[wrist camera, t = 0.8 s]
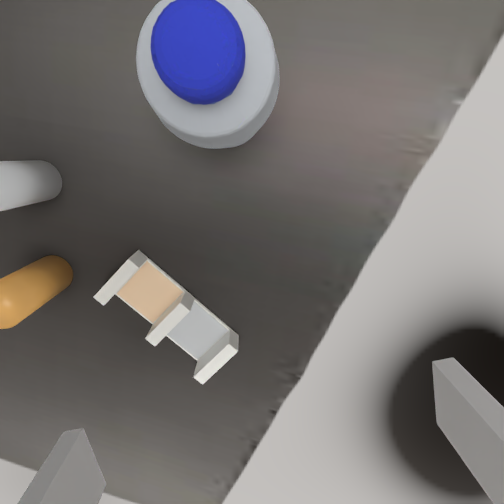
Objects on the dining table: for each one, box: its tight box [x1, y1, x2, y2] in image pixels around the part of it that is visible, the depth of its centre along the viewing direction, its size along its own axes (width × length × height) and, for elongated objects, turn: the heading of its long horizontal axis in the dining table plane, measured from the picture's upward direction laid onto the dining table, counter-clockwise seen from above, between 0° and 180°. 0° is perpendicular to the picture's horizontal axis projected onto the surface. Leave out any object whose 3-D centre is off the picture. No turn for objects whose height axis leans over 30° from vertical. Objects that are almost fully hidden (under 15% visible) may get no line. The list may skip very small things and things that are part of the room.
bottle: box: [136, 0, 280, 149], centre depth 21 cm, size 7×7×20 cm
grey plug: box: [0, 160, 62, 211], centre depth 28 cm, size 4×4×8 cm
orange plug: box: [0, 255, 73, 329], centre depth 31 cm, size 4×4×8 cm
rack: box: [93, 250, 239, 384], centre depth 34 cm, size 13×5×3 cm, turn 46°
